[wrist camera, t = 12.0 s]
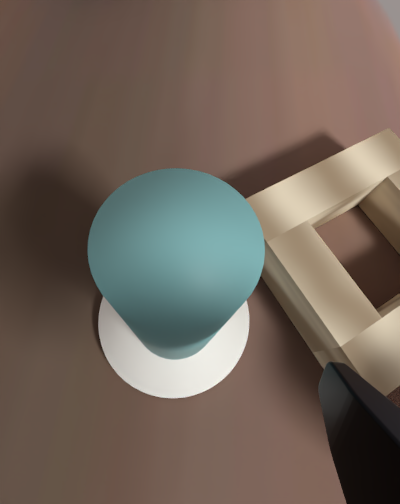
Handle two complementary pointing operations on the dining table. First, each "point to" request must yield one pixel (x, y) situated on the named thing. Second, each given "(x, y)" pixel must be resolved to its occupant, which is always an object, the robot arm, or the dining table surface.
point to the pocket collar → (326, 264)
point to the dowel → (176, 257)
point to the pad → (166, 370)
